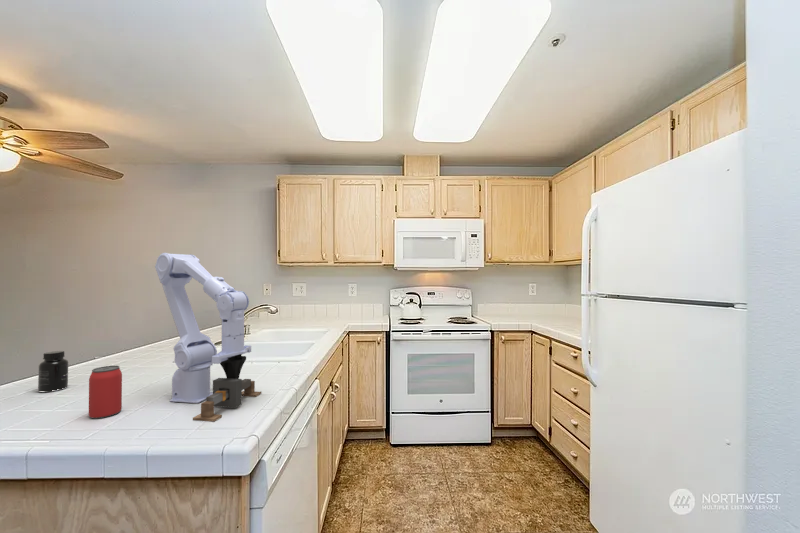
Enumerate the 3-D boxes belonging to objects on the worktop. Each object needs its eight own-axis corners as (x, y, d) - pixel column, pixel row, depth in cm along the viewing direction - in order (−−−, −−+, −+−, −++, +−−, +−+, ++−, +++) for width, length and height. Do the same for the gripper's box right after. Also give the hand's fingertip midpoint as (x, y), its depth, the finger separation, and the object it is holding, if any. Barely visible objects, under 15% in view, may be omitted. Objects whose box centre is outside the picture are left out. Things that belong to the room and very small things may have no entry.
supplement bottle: (71, 388, 113) (71, 351, 113) (41, 394, 107) (42, 355, 107) (64, 385, 116) (64, 349, 117) (35, 390, 111) (36, 353, 111)
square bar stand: (192, 420, 86) (192, 399, 86) (243, 392, 106) (243, 375, 106) (214, 421, 85) (214, 400, 85) (261, 393, 105) (261, 376, 105)
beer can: (94, 421, 86) (94, 372, 86) (84, 416, 89) (85, 369, 90) (125, 412, 92) (126, 366, 92) (115, 407, 95) (116, 363, 95)
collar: (212, 406, 94) (212, 380, 94) (218, 403, 96) (218, 377, 96) (236, 407, 92) (236, 381, 93) (241, 404, 95) (241, 378, 95)
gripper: (229, 339, 89) (228, 392, 89) (260, 330, 104) (260, 376, 103) (204, 339, 90) (204, 391, 90) (239, 330, 105) (239, 375, 104)
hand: (232, 383), depth 97 cm, fingers closed
